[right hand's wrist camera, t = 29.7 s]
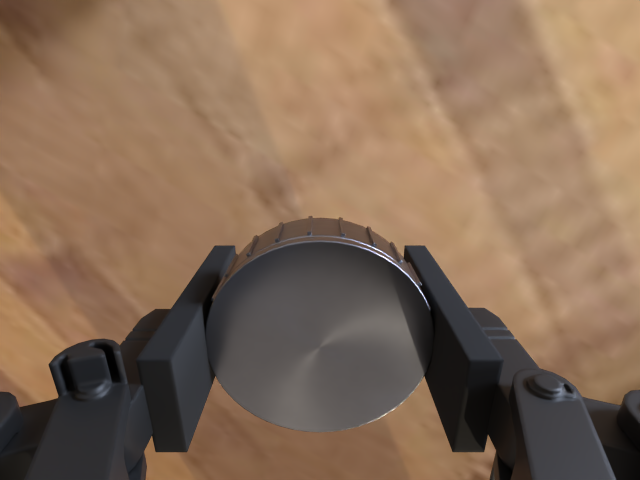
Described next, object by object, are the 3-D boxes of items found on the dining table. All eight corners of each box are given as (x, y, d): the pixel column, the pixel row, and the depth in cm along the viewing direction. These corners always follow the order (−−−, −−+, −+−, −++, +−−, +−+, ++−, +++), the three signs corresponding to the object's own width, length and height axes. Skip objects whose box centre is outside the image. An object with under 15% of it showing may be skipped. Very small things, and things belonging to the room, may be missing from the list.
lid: (461, 278, 12) (486, 311, 10) (351, 414, 14) (356, 462, 12) (279, 174, 11) (271, 190, 9) (188, 340, 13) (166, 381, 11)
